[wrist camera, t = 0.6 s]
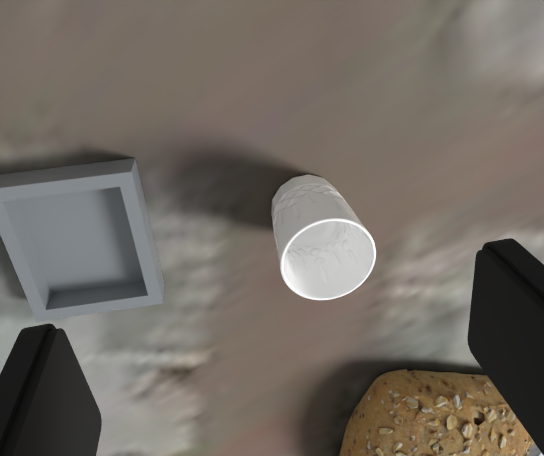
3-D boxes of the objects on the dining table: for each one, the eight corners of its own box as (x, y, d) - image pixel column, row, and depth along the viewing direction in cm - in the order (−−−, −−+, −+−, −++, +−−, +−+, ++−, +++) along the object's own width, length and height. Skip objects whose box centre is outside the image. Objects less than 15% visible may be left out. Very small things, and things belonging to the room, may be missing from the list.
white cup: (271, 246, 50) (287, 308, 41) (258, 177, 46) (273, 230, 37) (346, 231, 50) (377, 289, 42) (340, 160, 46) (373, 209, 38)
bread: (318, 465, 69) (340, 555, 59) (361, 353, 60) (396, 438, 49) (469, 465, 75) (513, 548, 64) (532, 363, 65) (595, 442, 55)
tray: (-5, 174, 42) (-19, 190, 40) (135, 157, 43) (131, 171, 41) (45, 301, 49) (36, 321, 47) (164, 284, 50) (162, 303, 48)
